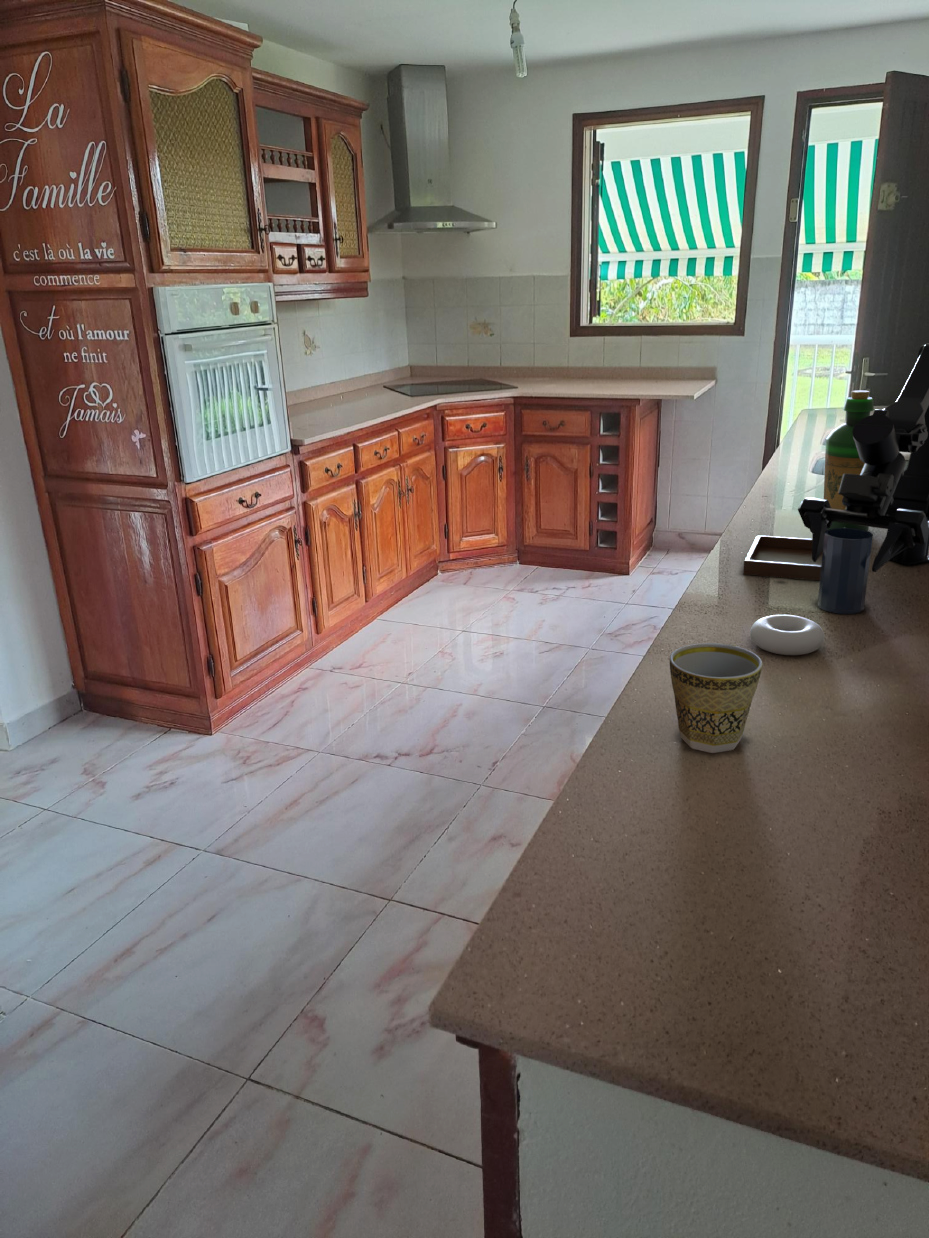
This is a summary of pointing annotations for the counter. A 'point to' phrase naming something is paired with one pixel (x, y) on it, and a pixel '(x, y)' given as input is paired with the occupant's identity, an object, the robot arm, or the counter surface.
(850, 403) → the bottle
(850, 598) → the cup
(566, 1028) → the counter surface
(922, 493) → the robot arm
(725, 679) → the ceramic cup
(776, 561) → the tray
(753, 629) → the donut
